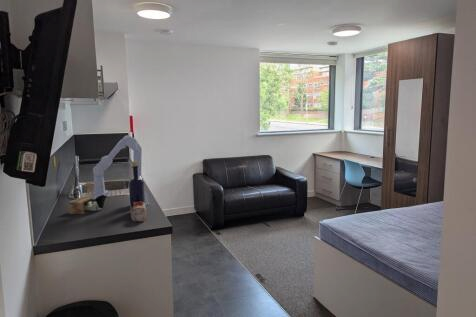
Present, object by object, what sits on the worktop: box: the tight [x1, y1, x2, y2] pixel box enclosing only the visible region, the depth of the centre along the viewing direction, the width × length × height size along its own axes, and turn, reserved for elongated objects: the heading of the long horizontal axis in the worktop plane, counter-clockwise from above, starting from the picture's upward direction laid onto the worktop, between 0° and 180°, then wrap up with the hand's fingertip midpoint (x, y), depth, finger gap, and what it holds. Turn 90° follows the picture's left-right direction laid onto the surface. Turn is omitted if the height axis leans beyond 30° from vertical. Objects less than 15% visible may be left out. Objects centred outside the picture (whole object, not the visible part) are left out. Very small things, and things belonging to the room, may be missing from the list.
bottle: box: [128, 161, 145, 214], centre depth 198 cm, size 9×9×30 cm
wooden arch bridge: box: [68, 193, 96, 215], centre depth 208 cm, size 9×19×7 cm, turn 170°
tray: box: [84, 202, 102, 212], centre depth 207 cm, size 9×5×4 cm, turn 80°
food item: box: [130, 201, 147, 223], centre depth 187 cm, size 14×8×10 cm, turn 15°
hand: (101, 207), depth 206 cm, fingers closed, pressing on tray
